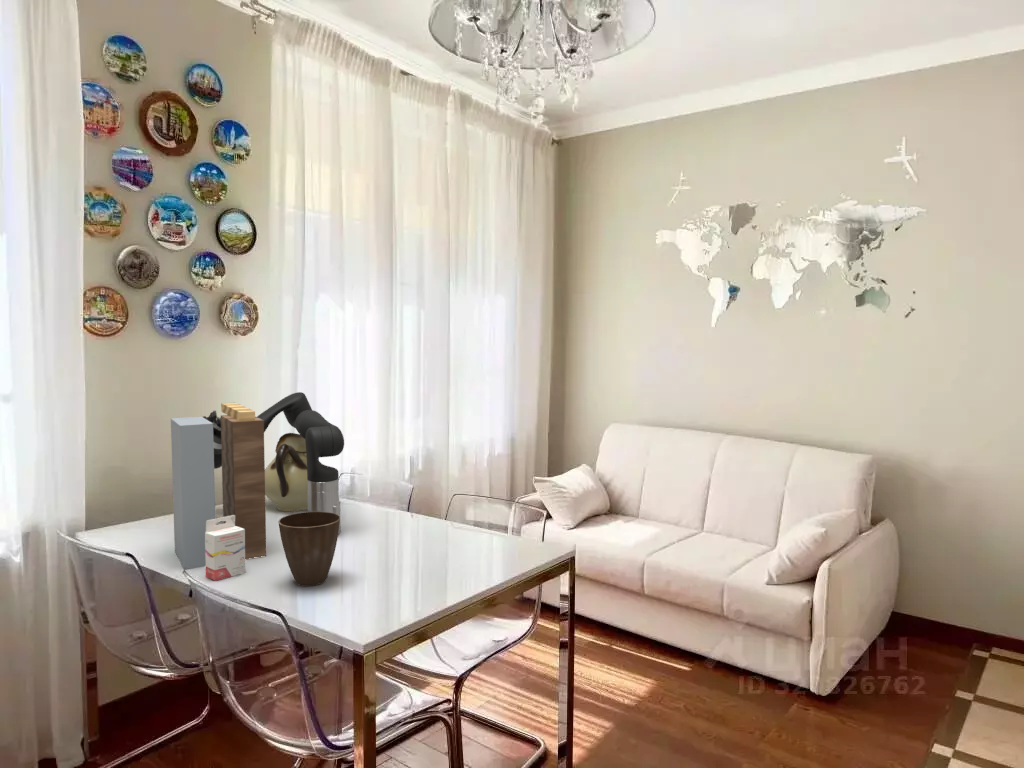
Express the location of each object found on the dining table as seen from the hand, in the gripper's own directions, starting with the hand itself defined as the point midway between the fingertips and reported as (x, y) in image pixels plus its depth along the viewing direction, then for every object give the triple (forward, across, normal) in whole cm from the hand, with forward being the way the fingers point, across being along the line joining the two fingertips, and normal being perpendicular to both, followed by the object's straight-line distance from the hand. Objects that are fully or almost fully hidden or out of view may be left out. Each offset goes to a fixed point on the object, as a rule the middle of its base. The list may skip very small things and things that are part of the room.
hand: (230, 412), depth 216 cm
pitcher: (-41, +26, +20) cm, 53 cm away
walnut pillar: (-6, 0, +40) cm, 41 cm away
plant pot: (+22, +8, +57) cm, 62 cm away
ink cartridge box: (+9, -9, +49) cm, 51 cm away
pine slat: (+8, 0, +5) cm, 10 cm away
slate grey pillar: (-7, -13, +40) cm, 43 cm away
